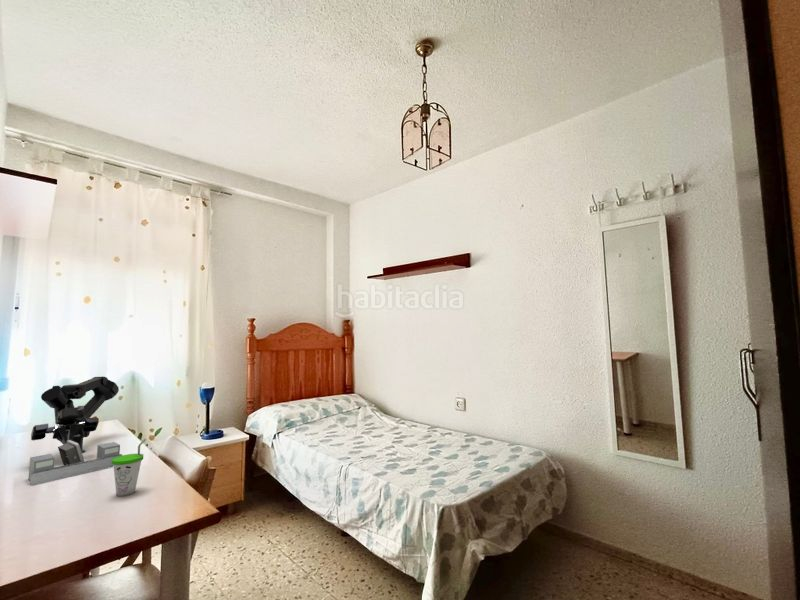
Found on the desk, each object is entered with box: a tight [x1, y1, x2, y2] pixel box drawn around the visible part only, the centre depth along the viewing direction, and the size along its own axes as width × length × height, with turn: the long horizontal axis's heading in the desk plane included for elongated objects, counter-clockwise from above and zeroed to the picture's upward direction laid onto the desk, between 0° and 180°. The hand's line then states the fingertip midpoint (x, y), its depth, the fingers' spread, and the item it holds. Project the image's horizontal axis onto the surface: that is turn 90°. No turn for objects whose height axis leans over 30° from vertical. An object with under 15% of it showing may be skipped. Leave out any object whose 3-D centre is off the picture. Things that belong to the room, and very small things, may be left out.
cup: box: [112, 438, 147, 497], centre depth 111 cm, size 8×8×15 cm
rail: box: [29, 453, 123, 486], centre depth 128 cm, size 2×24×4 cm, turn 142°
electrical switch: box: [57, 440, 85, 466], centre depth 134 cm, size 9×5×9 cm, turn 58°
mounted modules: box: [27, 441, 121, 482], centre depth 130 cm, size 7×23×7 cm, turn 142°
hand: (68, 446), depth 137 cm, fingers closed
